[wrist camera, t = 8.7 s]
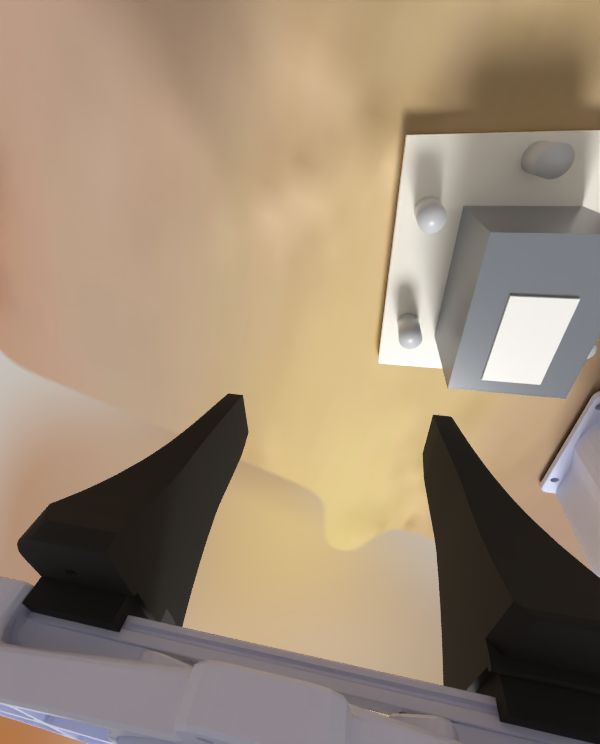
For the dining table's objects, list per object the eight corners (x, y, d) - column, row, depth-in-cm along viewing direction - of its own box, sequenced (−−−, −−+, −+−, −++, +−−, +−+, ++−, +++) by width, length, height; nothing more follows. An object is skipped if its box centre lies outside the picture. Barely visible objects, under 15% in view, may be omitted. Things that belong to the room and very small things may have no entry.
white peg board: (564, 371, 21) (586, 400, 19) (378, 356, 23) (377, 381, 20) (687, 127, 14) (746, 128, 12) (405, 134, 16) (409, 136, 14)
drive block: (527, 342, 19) (566, 399, 15) (434, 336, 20) (448, 389, 16) (582, 206, 15) (655, 235, 11) (463, 205, 16) (491, 232, 12)
